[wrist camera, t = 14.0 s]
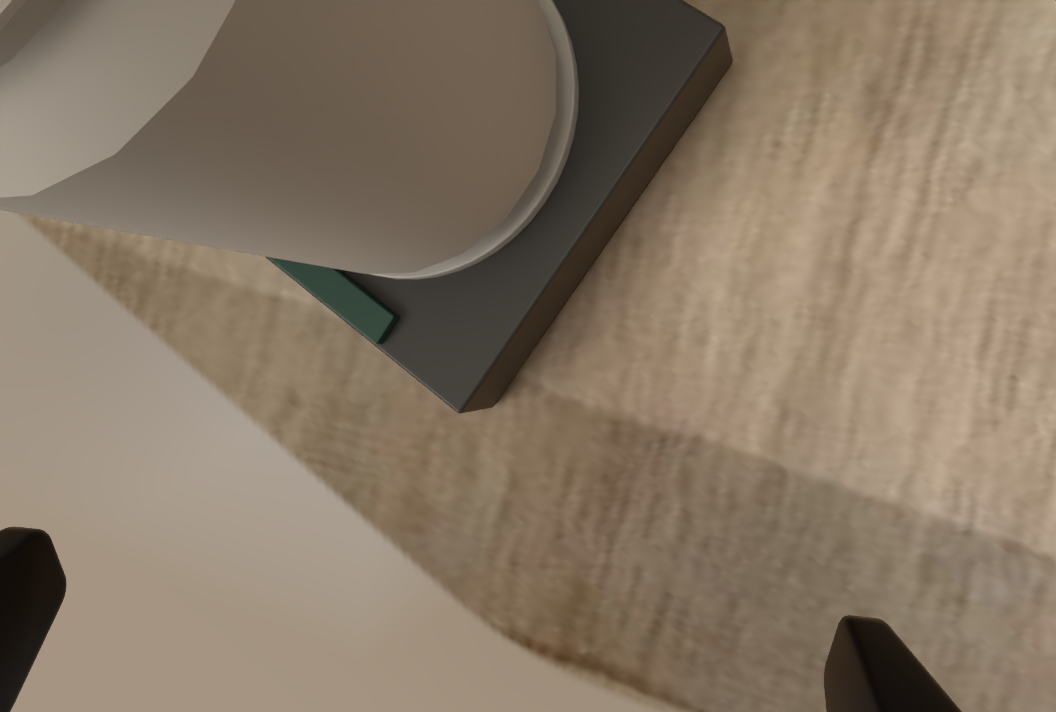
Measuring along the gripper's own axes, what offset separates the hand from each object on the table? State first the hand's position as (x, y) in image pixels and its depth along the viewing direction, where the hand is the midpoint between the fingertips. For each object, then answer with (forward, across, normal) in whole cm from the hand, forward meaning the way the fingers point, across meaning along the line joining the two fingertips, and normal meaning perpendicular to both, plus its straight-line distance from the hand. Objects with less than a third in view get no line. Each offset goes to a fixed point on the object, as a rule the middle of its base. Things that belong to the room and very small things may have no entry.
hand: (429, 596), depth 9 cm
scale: (+14, +3, -1) cm, 15 cm away
